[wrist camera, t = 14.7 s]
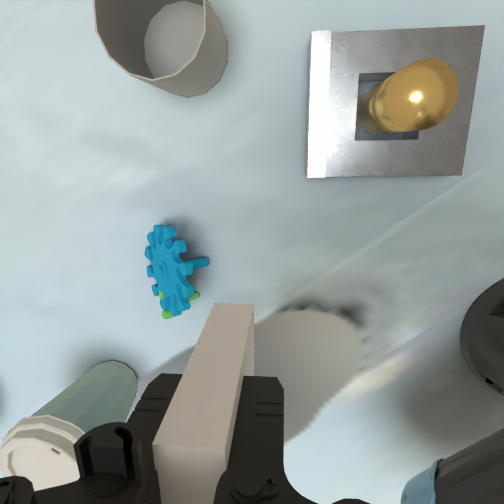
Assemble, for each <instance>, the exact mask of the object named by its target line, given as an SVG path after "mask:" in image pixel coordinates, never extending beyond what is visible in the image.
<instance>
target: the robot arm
mask: <svg viewBox="0 0 504 504" xmlns="http://www.w3.org/2000/svg"><path fill="white" fill-rule="evenodd" d="M460 340H461V348H462V352H463V355H464V357H465V359H466V361H467V363H468V364H469V366H470V367H471V368H472V369H473V370H474V372H475V373H476V374H477V375H478V376H479V378H480V379H481V380H482V381H483V382H484V383H486V384H487V385H488V386H489V387H491V388H492V389H494V390H495V391H497V392H499V393H501V394H502V395H504V280H502V281H500V282H499V283H497V284H495V285H494V286H492V287H491V288H489V289H488V290H487V291H485V292H484V293H483V294H482V295H481V296H480V297H479V298H478V299H477V300H476V301H475V303H474V304H473V305H472V307H471V308H470V309H469V311H468V313H467V315H466V317H465V319H464V322H463V325H462V329H461V338H460ZM253 373H254V312H253V304H217V303H214V305H213V308H212V310H211V312H210V314H209V317H208V319H207V321H206V323H205V326H204V328H203V330H202V333H201V335H200V337H199V339H198V342H197V344H196V346H195V349H194V351H193V353H192V355H191V358H190V360H189V362H188V364H187V366H186V369H185V371H184V373H183V374H165V373H162V374H160V375H159V376H158V377H157V378H155V379H154V380H153V381H152V382H151V383H149V384H148V386H147V388H146V389H145V391H144V393H143V395H142V397H141V400H139V402H138V404H137V405H136V407H135V411H133V412H132V414H131V416H130V418H129V419H128V421H127V423H124V422H111V423H106V424H103V425H100V426H97V427H94V428H93V429H91V430H90V431H88V432H87V433H85V434H83V435H82V436H81V437H80V438H79V439H78V440H77V441H76V443H75V444H74V445H73V447H74V452H75V456H76V461H77V466H78V470H79V475H80V477H79V479H78V480H77V481H74V482H71V483H68V484H64V485H60V486H55V487H51V488H47V489H42V490H38V491H34V488H33V484H32V482H31V481H30V480H29V479H27V478H26V477H23V476H9V477H4V478H0V504H318V503H315V502H313V501H311V500H309V499H307V498H305V497H303V496H302V495H300V494H299V493H298V492H297V491H296V490H295V489H294V488H293V487H292V485H291V484H290V483H289V481H288V479H287V477H286V475H285V472H284V465H283V446H284V428H283V427H284V389H283V387H282V385H281V383H280V382H279V380H278V379H277V377H261V376H253ZM332 504H370V503H367V502H364V501H362V500H359V499H342V500H339V501H337V502H334V503H332ZM401 504H504V428H503V429H502V430H500V431H498V432H496V433H494V434H492V435H490V436H488V437H486V438H484V439H482V440H480V441H479V442H477V443H475V444H473V445H471V446H469V447H467V448H465V449H463V450H461V451H459V452H457V453H455V454H454V455H452V456H450V457H448V458H446V459H442V458H441V459H438V460H436V461H435V462H434V463H433V465H432V466H431V467H430V468H428V469H426V470H425V471H423V472H422V473H420V474H418V475H417V476H415V477H413V478H412V479H410V480H409V481H408V482H407V484H406V485H405V487H404V489H403V492H402V496H401Z"/></svg>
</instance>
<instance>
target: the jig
mask: <svg viewBox="0 0 504 504" xmlns="http://www.w3.org/2000/svg"><path fill="white" fill-rule="evenodd" d="M484 28H485V25H481V26H459V27H438V28H417V29H396V30H375V31H353V32H332V33H331V30H329V31H312V33H311V37H310V41H309V46H308V80H307V118H306V155H305V174H306V176H307V177H350V176H451V175H462V169H463V162H464V156H465V150H466V143H467V137H468V131H469V124H470V118H471V111H472V105H473V99H474V92H475V86H476V80H477V73H478V67H479V60H480V54H481V48H482V41H483V35H484ZM424 58H434V59H438V60H441V61H443V62H445V63H446V64H448V65H449V66H450V67H451V68H452V70H453V71H454V73H455V75H456V77H457V80H458V88H459V90H458V97H457V101H456V104H455V106H454V108H453V110H452V111H451V113H450V114H449V115H448V116H447V117H446V118H445V119H444V120H443V121H442V122H441V123H439V124H438V125H436V126H434V127H431V128H429V129H424V130H414V131H405V134H404V140H374V141H355V128H356V112H357V97H358V82H359V81H366V80H385V79H387V78H388V77H390V76H391V75H393V74H395V73H396V72H398V71H399V70H401V69H402V68H404V67H406V66H407V65H409V64H410V63H412V62H414V61H417V60H420V59H424Z"/></svg>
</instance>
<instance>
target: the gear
mask: <svg viewBox="0 0 504 504" xmlns="http://www.w3.org/2000/svg"><path fill="white" fill-rule="evenodd" d="M176 235H177V232H176V230H175V229H174V227H173V226H165V225H163V224H161V225H154V232H152V233H149V234H148V235H147V239H148V241H149V243H150V245H151V246H150V247H146V249H145V256H146V257H147V258H148V259H149V260H150V262H151V263H152V266H147V275H148V277H154V278H155V279H156V281H157V283H158V284H155V285H152V290H153V293H154V296H157V295H159V297H160V299H161V300H160V305H161V307H162V308H163V311H162V316H163V318H164V319H168V318H171V317H174V316H177V315H180V314H182V311H184V310H187V309H189V308H191V306H190V302H189V300H193V299H196V298H199V294H198V292H195V293H194V291H195V288H194V286H193V284H191V283H190V282H189V281H188V280H187V278H186V276H187V275H191V274H193V269H195V268H200V267H204V266H208V264H209V262H208V259H207V258H206V257H204V258H200V259H195V260H190V261H185V262H184V261H183V260H181V259H180V257H179V253H184V252H186V251H187V248H186V244H185V242H184V240H177V241H174V243H173V245H172V239H173V238H175V237H176Z"/></svg>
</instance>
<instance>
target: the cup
mask: <svg viewBox="0 0 504 504" xmlns="http://www.w3.org/2000/svg"><path fill="white" fill-rule="evenodd" d="M93 7H94V18H95V29H96V33H97V35H98V37H99V39H100V41H101V43H102V45H103V47H104V49H105V51H106V53H107V55H108V57H109V58H110V59H111V60H113V61H114V62H115V63H116V64H117V65H118V66H119V67H121V68H122V69H123V70H124V71H125V72H126V73H127V74H129V75H131V76H133V77H135V78H138V79H140V80H142V81H144V82H147V83H149V84H151V85H153V86H156V87H158V88H160V89H162V90H165V91H167V92H169V93H173V94H176V95H180V96H184V97H187V98H188V97H192V96H196V95H201V94H205V93H206V92H207V91H208V90H210V89H211V88H212V87H213V86H214V85H215V84H217V83H218V82H219V80H220V78H221V76H222V74H223V71H224V69H225V67H226V64H227V39H226V36H225V34H224V31H223V29H222V27H221V24H220V22H219V20H218V18H217V16H216V14H215V12H214V10H213V8H212V7H211V5H210V3H209V1H208V0H93Z"/></svg>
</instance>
